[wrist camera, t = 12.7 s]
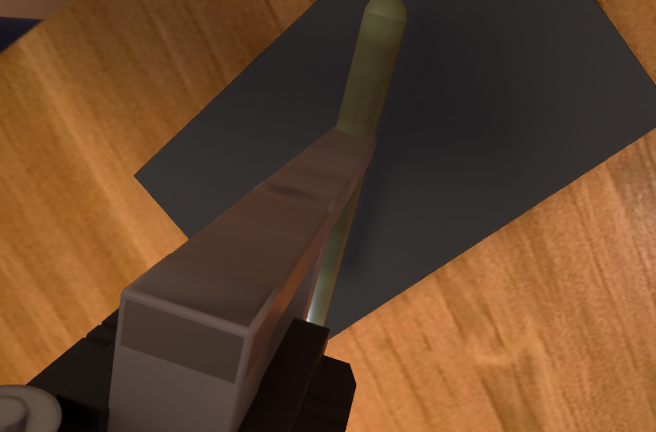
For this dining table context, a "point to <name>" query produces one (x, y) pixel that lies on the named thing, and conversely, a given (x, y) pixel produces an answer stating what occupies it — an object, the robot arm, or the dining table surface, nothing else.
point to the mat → (419, 129)
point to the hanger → (251, 268)
